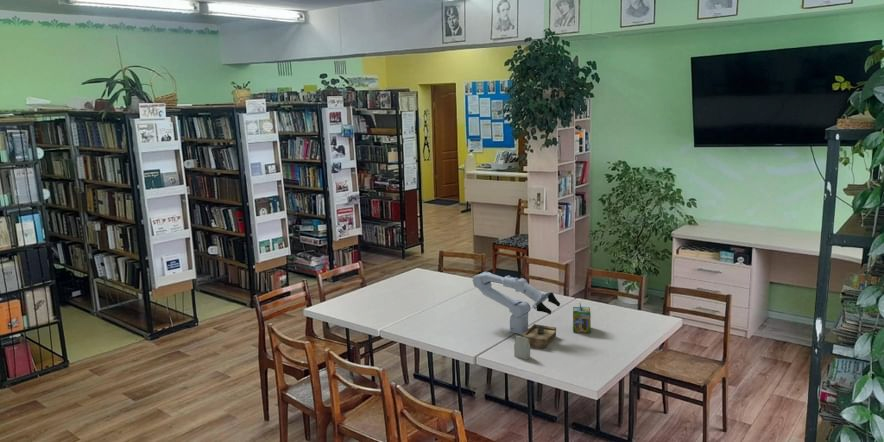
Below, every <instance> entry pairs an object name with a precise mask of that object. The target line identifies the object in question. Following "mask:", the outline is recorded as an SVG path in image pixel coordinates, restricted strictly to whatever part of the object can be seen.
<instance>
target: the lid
mask: <svg viewBox="0 0 884 442" xmlns="http://www.w3.org/2000/svg"><path fill="white" fill-rule="evenodd" d="M544 326H545V325H543V326H538V327H535V328H534V329H533V330H532V331H531V332H530V333H529V334H528V335H531V336H537V337H543V338H545V339H544V341H547V340H548V339H549V338H550V337H551V336H552V335H553V334H554V333H555V332H556V333H557V329H556V330H552V329H546V328H544Z"/></svg>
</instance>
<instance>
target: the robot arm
mask: <svg viewBox="0 0 884 442" xmlns="http://www.w3.org/2000/svg"><path fill="white" fill-rule="evenodd" d="M472 283H473V286H474V287H475V288H477V289H478V290H479V291H480V292H481V294H482V295H483V296H485V297H487V298H489V299H490V300H493V301H495V302H496V303H498V304H500V305H502V306H504V307H506V308H507V309H509V313H511V316H510V318H509V331H508V332H509V333H513V334H517V335H518V334H519V335H523V334H524V333H525V332H526V331H527V330H528V329H529V312H530V311H531V309H534V310H536V311H537V312H541V313H546V314H547V315H551V314H552V309H550V308H548V307H547V306H546V305H545V304H544V302H545V301H546V300H547V302H548V303H551V304H554V306H557V307H560V306H561V302H560V301H558V298H556V296H555V294H554V293H553V292H552V291H551V290H549V291H547V292H545V293H542V292H541V291H540V290H539V289H537V288H535V287H534V286H532V285H531V284H530V283H528V281H527V279H526V278H523V277H520V278H518V277H513V276H511V275H505V276H504V277H503V276H500V275H498V274H494V273H491V272H489V271H483V272H481V273H479V274H475V275H474V276H473V277H472ZM492 283H497V284H502V286H503V287H505V288H510V289H513V290H515V292H518V293H519V292H520V293H521V294H523V295H525V296H526V297H528V298H529V299H531V300H532V301H534V303H533V304H532V307H531V305H530V303H529V302H527V301H523V300H521V299H519V300H518V299H513V298H511V297H510V296H509V295H506V294H504V293H502V292H500V291H498V290H497V289H495V288H493V287H492Z"/></svg>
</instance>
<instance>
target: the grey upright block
mask: <svg viewBox="0 0 884 442" xmlns="http://www.w3.org/2000/svg"><path fill="white" fill-rule="evenodd" d="M513 344H514V345H513V346H514V347H513V351H514V352H513V353H514V354H513V355H514V357H515V358H518V359H519V358H520V359H522V360H526V361H527V360H528V359H529V358H531V347H530V343H529V339H528V338H524V337H521V336H519V335H516V336H515V340H514V343H513Z"/></svg>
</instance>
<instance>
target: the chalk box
mask: <svg viewBox="0 0 884 442" xmlns="http://www.w3.org/2000/svg"><path fill="white" fill-rule="evenodd" d="M591 317H592V316H591V307H590V306H589V307H587V306H582V304H581V302H579V306H572V332H573V333H588V334H589V333H590V334H591V331H592V330H591V329H592V328H591V325H592V324H591V323H592V322H591V320H592V319H591Z"/></svg>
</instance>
